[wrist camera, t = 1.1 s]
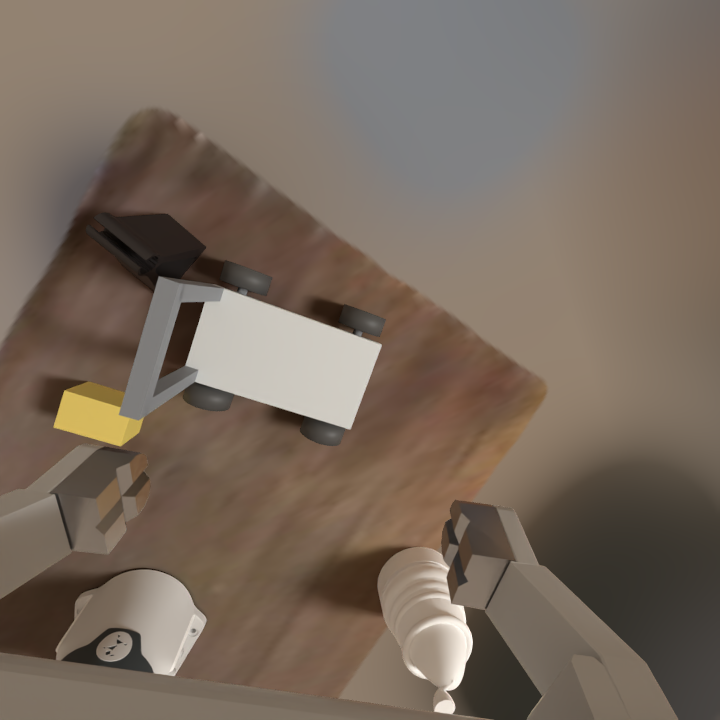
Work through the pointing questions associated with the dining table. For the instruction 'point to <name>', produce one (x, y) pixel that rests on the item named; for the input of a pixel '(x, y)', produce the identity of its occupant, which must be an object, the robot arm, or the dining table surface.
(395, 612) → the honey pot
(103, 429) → the tall gold block
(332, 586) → the dining table surface
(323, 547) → the dining table surface
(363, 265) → the dining table surface
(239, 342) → the flatbed trolley
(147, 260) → the phone stand
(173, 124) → the dining table surface
